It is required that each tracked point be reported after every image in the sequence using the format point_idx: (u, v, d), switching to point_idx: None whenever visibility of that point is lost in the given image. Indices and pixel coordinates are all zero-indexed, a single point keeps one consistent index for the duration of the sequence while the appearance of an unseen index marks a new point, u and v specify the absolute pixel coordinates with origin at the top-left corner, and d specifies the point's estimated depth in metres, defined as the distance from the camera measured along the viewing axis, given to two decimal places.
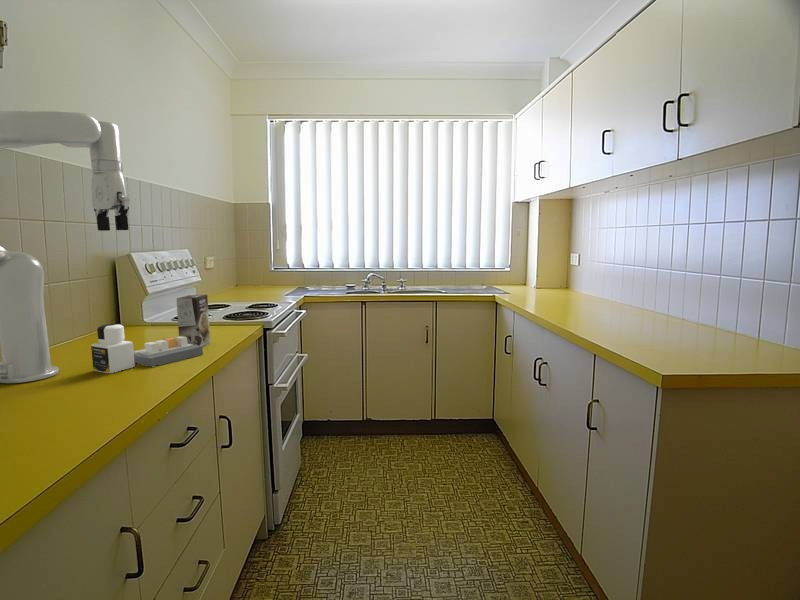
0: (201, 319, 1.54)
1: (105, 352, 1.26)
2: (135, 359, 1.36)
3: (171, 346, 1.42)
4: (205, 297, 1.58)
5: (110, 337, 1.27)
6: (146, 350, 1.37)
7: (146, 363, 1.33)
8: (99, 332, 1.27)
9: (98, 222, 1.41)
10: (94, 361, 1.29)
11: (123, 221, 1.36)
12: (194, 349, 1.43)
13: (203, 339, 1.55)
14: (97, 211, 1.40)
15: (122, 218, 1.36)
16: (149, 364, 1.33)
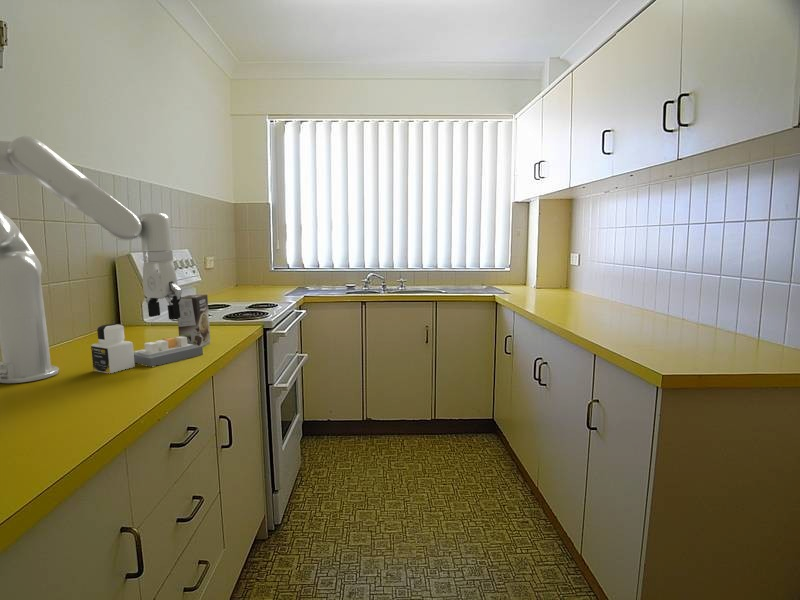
0: (201, 319, 1.54)
1: (105, 352, 1.26)
2: (135, 359, 1.36)
3: (171, 346, 1.42)
4: (205, 297, 1.58)
5: (110, 337, 1.27)
6: (146, 350, 1.37)
7: (146, 363, 1.33)
8: (99, 332, 1.27)
9: (149, 309, 1.42)
10: (94, 361, 1.29)
11: (175, 310, 1.37)
12: (194, 349, 1.43)
13: (203, 339, 1.55)
14: (148, 298, 1.41)
15: (174, 307, 1.37)
16: (149, 364, 1.33)
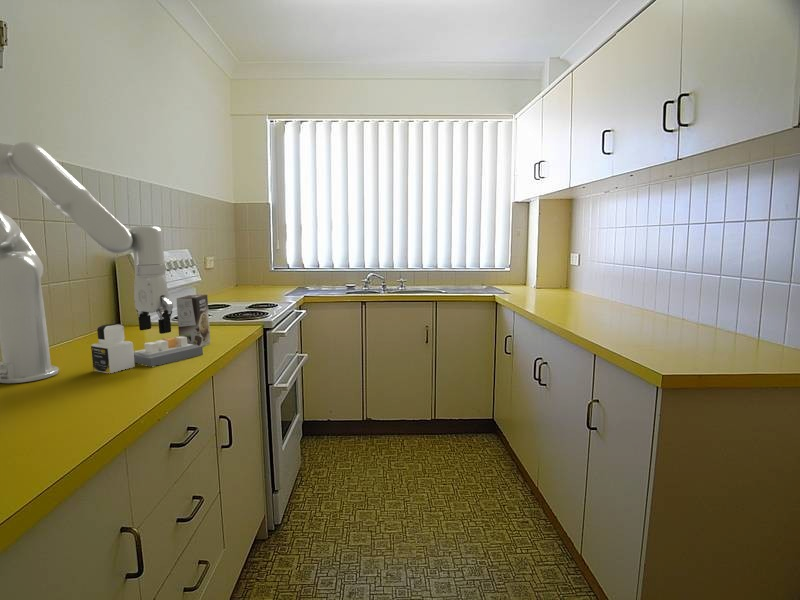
0: (201, 319, 1.54)
1: (105, 352, 1.26)
2: (135, 359, 1.36)
3: (171, 346, 1.42)
4: (205, 297, 1.58)
5: (110, 337, 1.27)
6: (146, 350, 1.37)
7: (146, 363, 1.33)
8: (99, 332, 1.27)
9: (140, 322, 1.40)
10: (94, 361, 1.29)
11: (166, 324, 1.35)
12: (194, 349, 1.43)
13: (203, 339, 1.55)
14: (139, 311, 1.40)
15: (165, 322, 1.35)
16: (149, 364, 1.33)
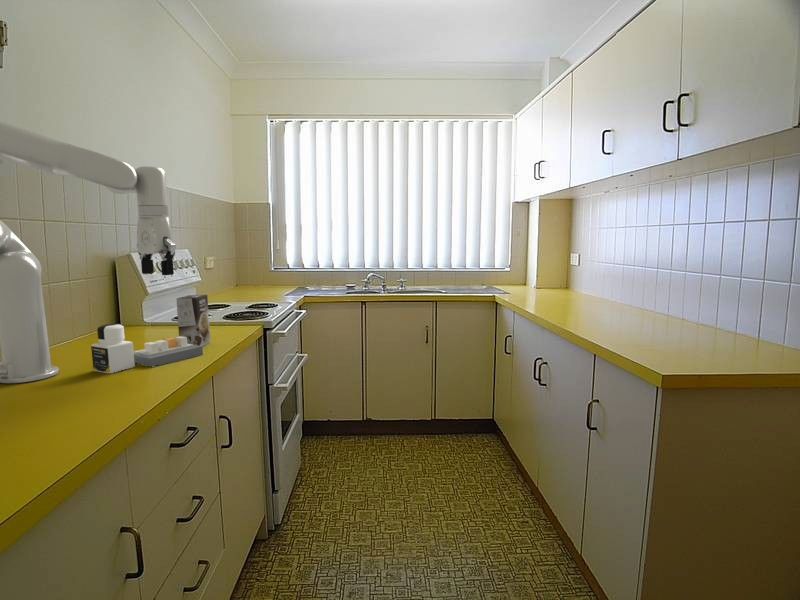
0: (201, 319, 1.54)
1: (105, 352, 1.26)
2: (135, 359, 1.36)
3: (171, 346, 1.42)
4: (205, 297, 1.58)
5: (110, 337, 1.27)
6: (146, 350, 1.37)
7: (146, 363, 1.33)
8: (99, 332, 1.27)
9: (143, 265, 1.40)
10: (94, 361, 1.29)
11: (169, 266, 1.35)
12: (194, 349, 1.43)
13: (203, 339, 1.55)
14: (142, 254, 1.40)
15: (168, 263, 1.35)
16: (149, 364, 1.33)
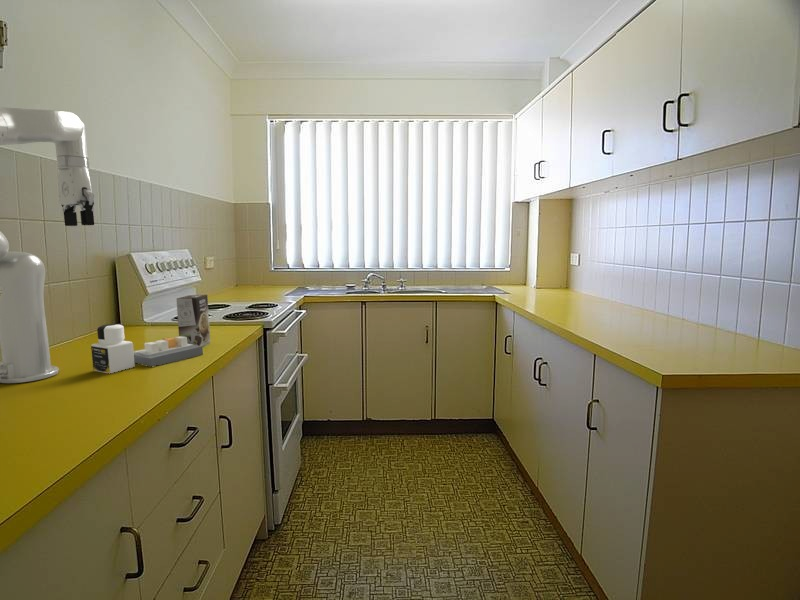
0: (201, 319, 1.54)
1: (105, 352, 1.26)
2: (135, 359, 1.36)
3: (171, 346, 1.42)
4: (205, 297, 1.58)
5: (110, 337, 1.27)
6: (146, 350, 1.37)
7: (146, 363, 1.33)
8: (99, 332, 1.27)
9: (65, 217, 1.43)
10: (94, 361, 1.29)
11: (88, 216, 1.38)
12: (194, 349, 1.43)
13: (203, 339, 1.55)
14: (64, 206, 1.42)
15: (87, 213, 1.38)
16: (149, 364, 1.33)
